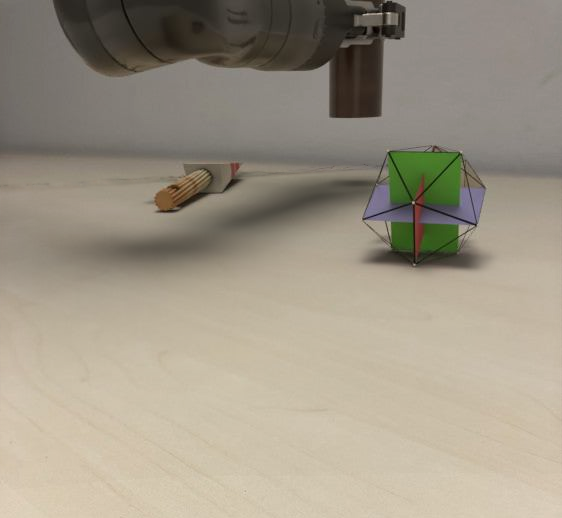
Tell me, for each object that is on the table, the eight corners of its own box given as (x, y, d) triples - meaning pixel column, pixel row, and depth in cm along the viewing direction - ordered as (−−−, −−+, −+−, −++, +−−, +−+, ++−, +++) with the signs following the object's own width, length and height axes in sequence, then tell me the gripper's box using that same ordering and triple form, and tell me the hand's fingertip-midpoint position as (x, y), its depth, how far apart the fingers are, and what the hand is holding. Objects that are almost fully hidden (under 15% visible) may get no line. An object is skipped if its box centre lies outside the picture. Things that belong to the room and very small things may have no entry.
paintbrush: (248, 148, 76) (182, 185, 58) (249, 174, 77) (185, 217, 59) (213, 148, 76) (139, 184, 59) (215, 173, 78) (143, 216, 60)
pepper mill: (362, 118, 66) (365, -53, 61) (318, 117, 70) (318, -46, 64) (391, 115, 70) (397, -47, 65) (348, 115, 73) (350, -40, 68)
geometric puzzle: (472, 243, 37) (491, 108, 38) (345, 236, 39) (369, 109, 41) (475, 292, 44) (492, 175, 45) (367, 284, 46) (386, 173, 47)
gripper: (365, -46, 51) (441, -22, 64) (203, -27, 57) (302, -10, 71) (363, 68, 53) (436, 68, 67) (209, 73, 60) (303, 72, 74)
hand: (367, 28), depth 69 cm, fingers closed on pepper mill, 5 cm apart
